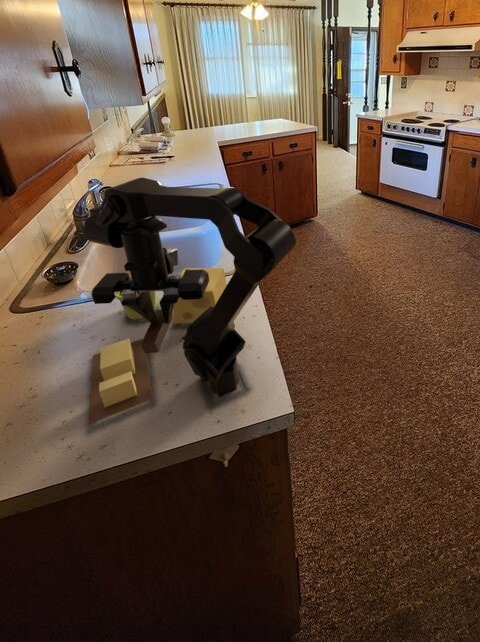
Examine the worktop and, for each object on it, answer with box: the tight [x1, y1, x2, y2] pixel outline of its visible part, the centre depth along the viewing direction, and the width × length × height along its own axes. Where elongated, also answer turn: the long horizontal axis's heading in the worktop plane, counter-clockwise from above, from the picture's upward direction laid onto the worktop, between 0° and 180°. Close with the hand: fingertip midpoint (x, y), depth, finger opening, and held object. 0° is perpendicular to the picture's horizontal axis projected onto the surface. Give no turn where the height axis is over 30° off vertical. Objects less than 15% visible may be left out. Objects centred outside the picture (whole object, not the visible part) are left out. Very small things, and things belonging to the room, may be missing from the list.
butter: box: [100, 338, 135, 381], centre depth 68 cm, size 6×5×4 cm
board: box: [88, 338, 153, 425], centre depth 67 cm, size 17×10×1 cm, turn 29°
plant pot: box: [114, 275, 157, 320], centre depth 83 cm, size 9×9×9 cm
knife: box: [141, 271, 181, 354], centre depth 69 cm, size 18×2×3 cm, turn 4°
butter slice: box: [99, 372, 137, 407], centre depth 62 cm, size 2×5×4 cm, turn 120°
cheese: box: [171, 267, 227, 325], centre depth 84 cm, size 10×11×10 cm
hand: (161, 322), depth 67 cm, fingers closed on knife, 2 cm apart
